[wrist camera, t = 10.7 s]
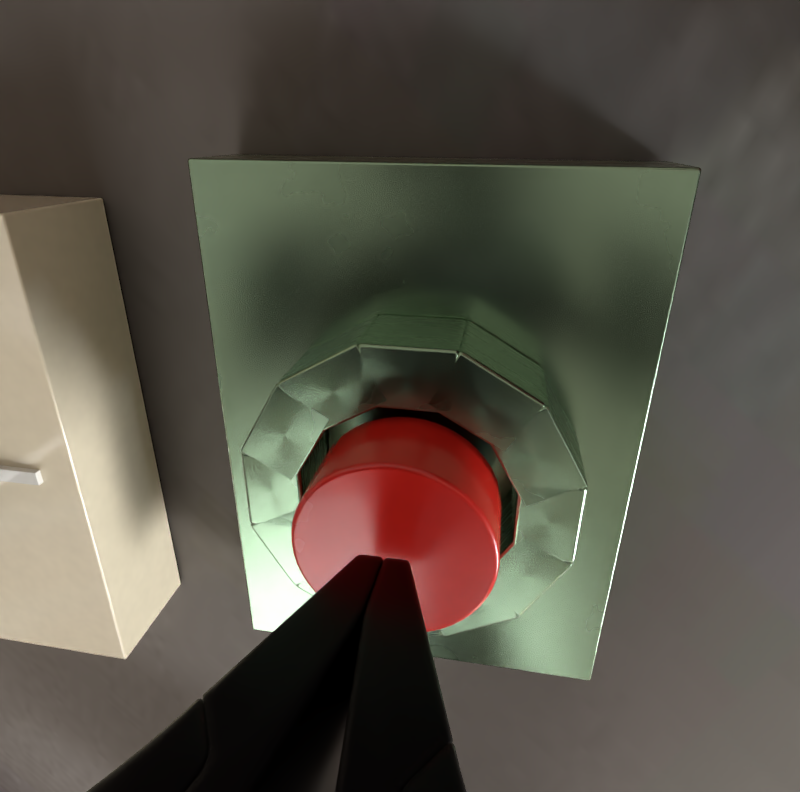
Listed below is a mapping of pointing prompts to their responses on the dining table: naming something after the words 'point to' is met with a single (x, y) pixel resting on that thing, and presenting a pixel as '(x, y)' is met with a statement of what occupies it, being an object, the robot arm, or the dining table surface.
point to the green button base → (447, 355)
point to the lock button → (405, 513)
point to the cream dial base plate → (74, 440)
